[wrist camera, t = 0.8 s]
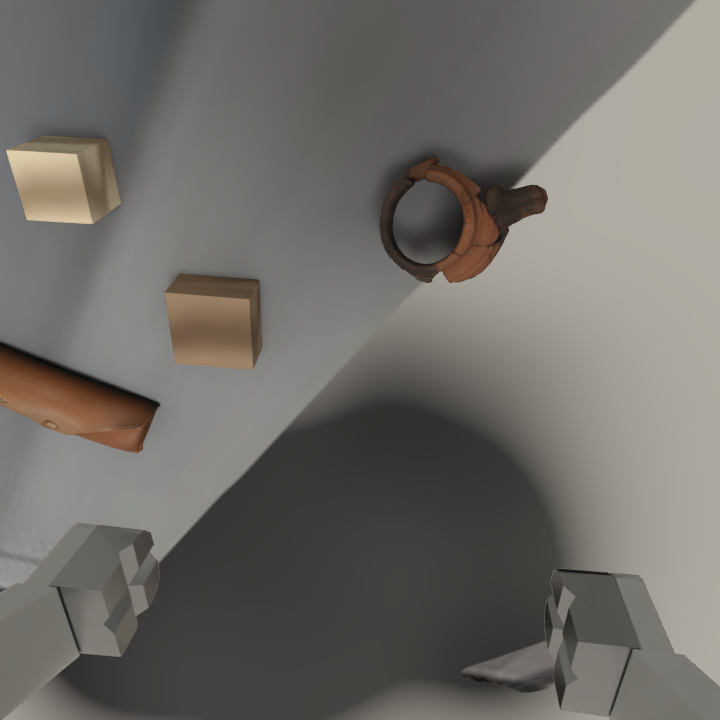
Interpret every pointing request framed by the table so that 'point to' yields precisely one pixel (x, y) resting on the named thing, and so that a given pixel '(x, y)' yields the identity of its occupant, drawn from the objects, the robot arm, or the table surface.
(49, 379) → the sunglasses case
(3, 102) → the table surface
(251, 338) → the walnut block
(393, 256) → the brown piece
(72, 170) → the beech block
